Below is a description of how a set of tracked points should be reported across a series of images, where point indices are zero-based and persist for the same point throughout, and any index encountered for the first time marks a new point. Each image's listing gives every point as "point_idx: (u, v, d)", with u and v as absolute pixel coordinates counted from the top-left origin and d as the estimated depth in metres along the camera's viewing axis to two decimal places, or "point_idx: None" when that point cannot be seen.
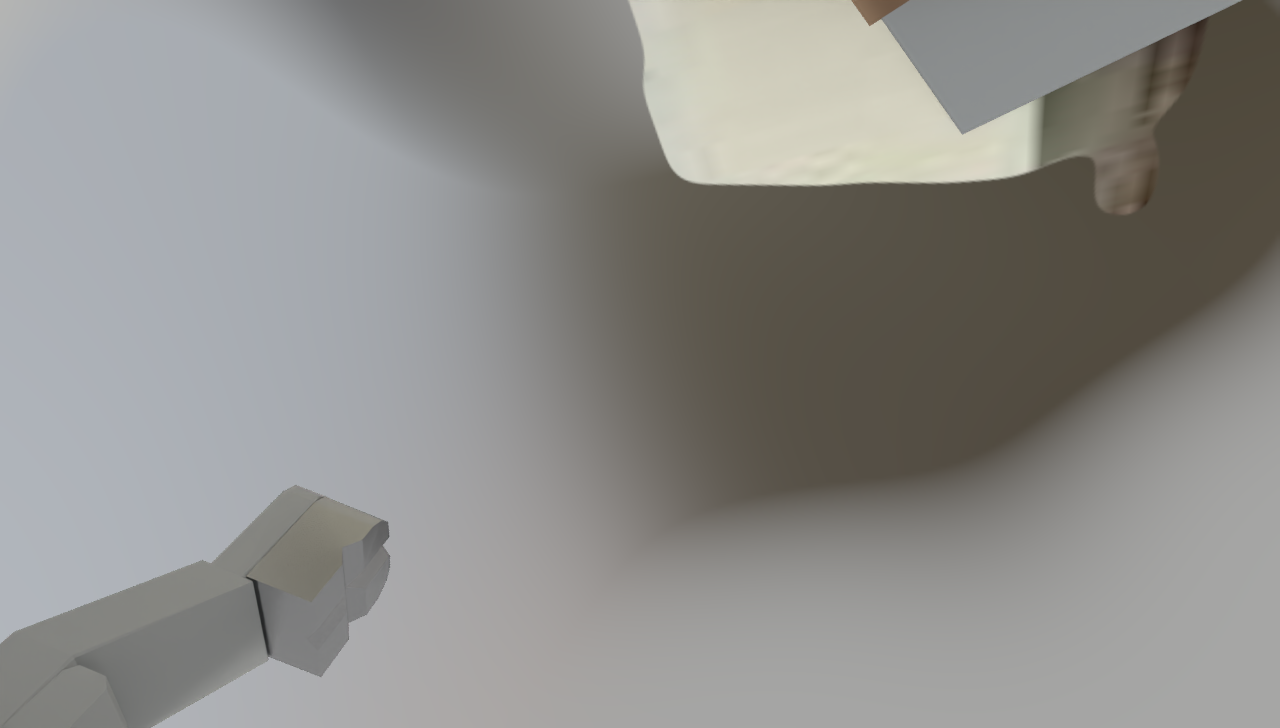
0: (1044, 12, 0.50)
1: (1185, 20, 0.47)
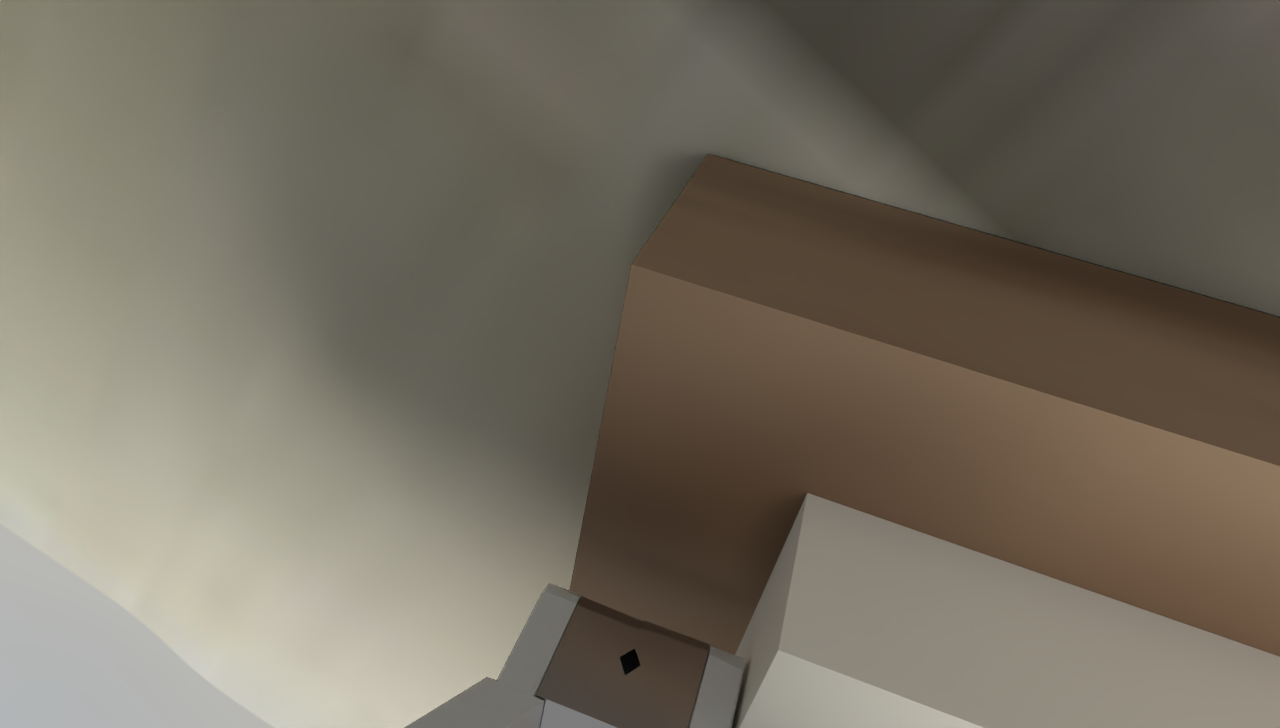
0: None
1: None
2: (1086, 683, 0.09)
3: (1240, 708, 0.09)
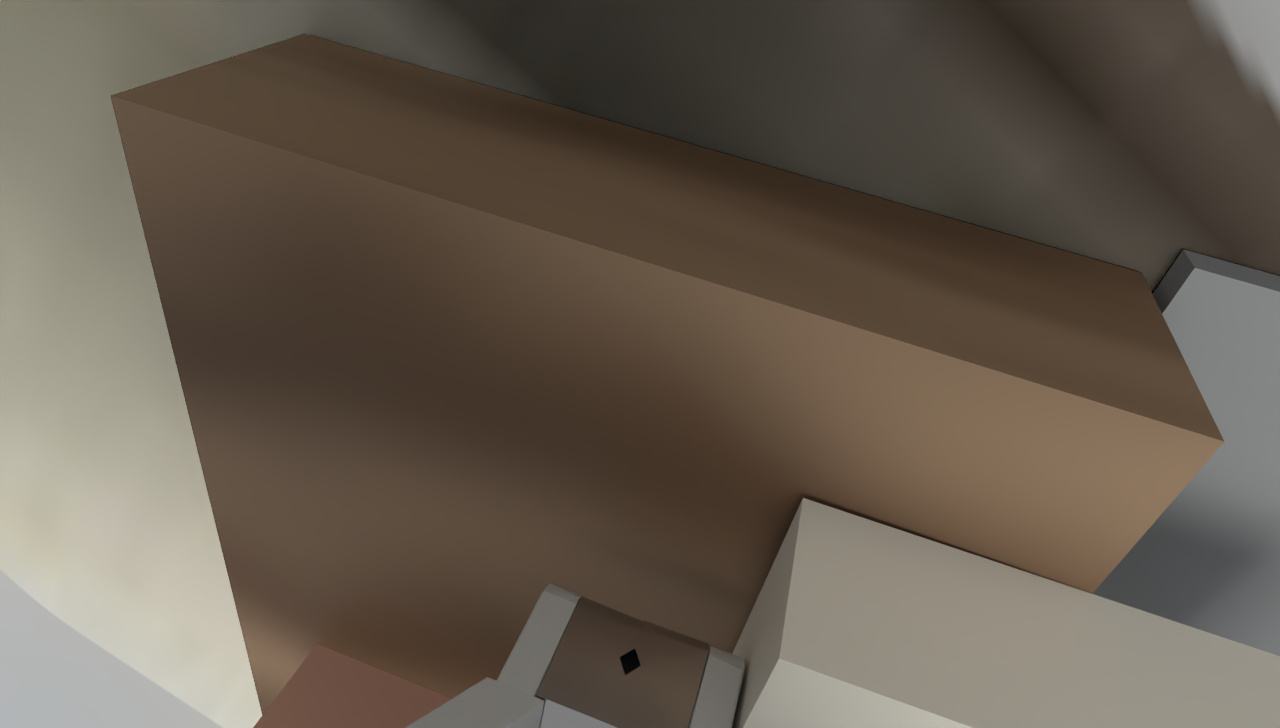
0: None
1: None
2: (1082, 684, 0.09)
3: (1231, 704, 0.09)
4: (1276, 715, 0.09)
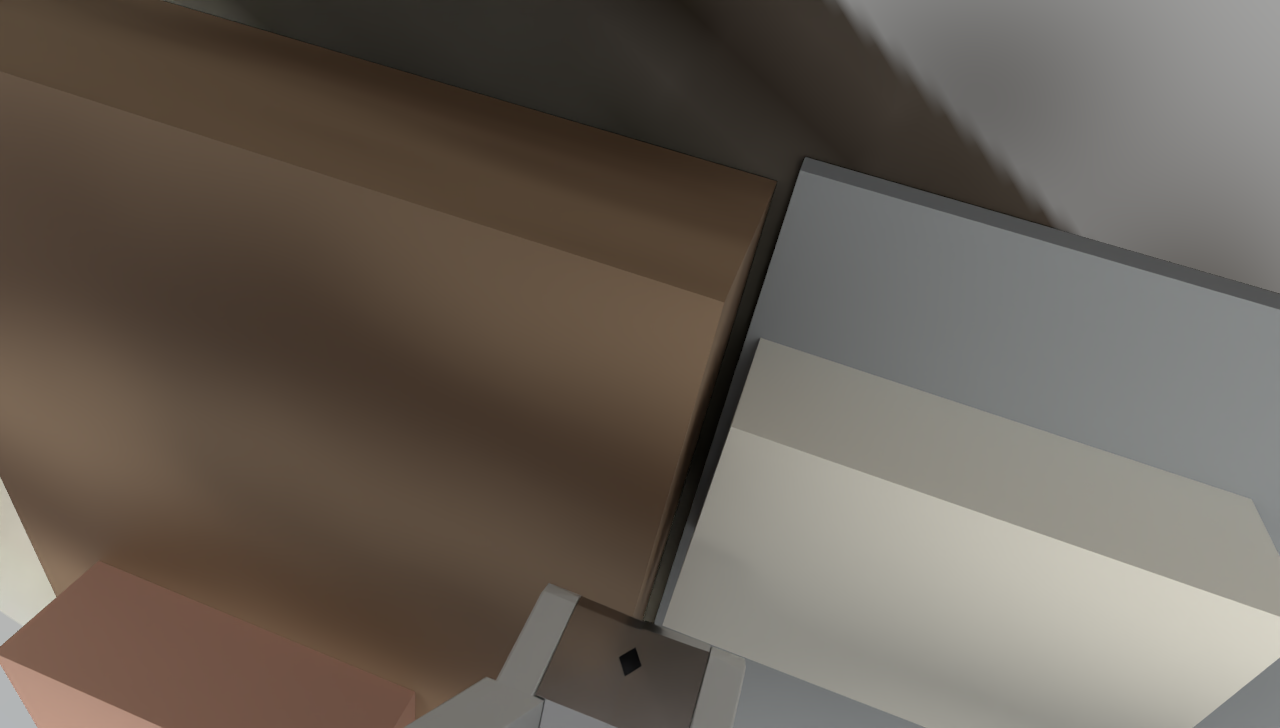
0: None
1: None
2: (962, 459, 0.11)
3: (1077, 480, 0.12)
4: (1112, 489, 0.12)
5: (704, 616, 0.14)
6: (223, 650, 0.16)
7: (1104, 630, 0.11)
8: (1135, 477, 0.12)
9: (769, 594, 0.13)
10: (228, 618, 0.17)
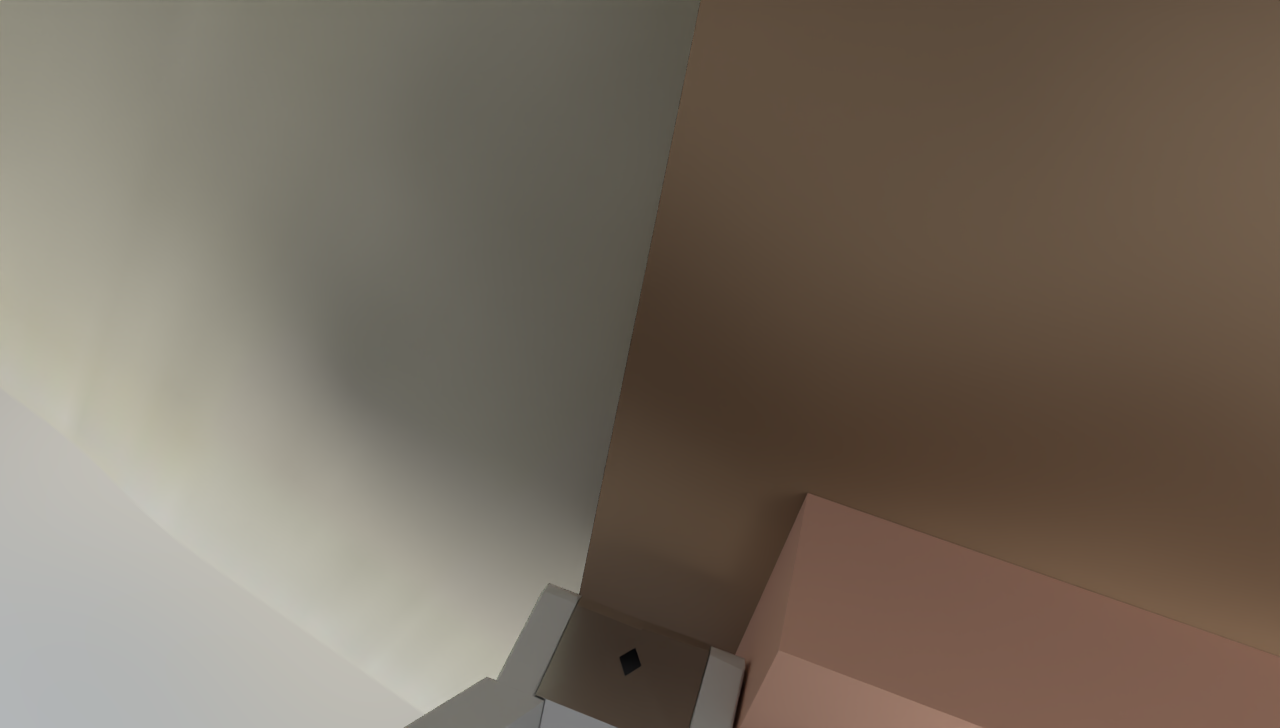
0: None
1: None
2: None
3: None
4: None
5: None
6: (1120, 646, 0.09)
7: None
8: None
9: None
10: (1059, 591, 0.10)
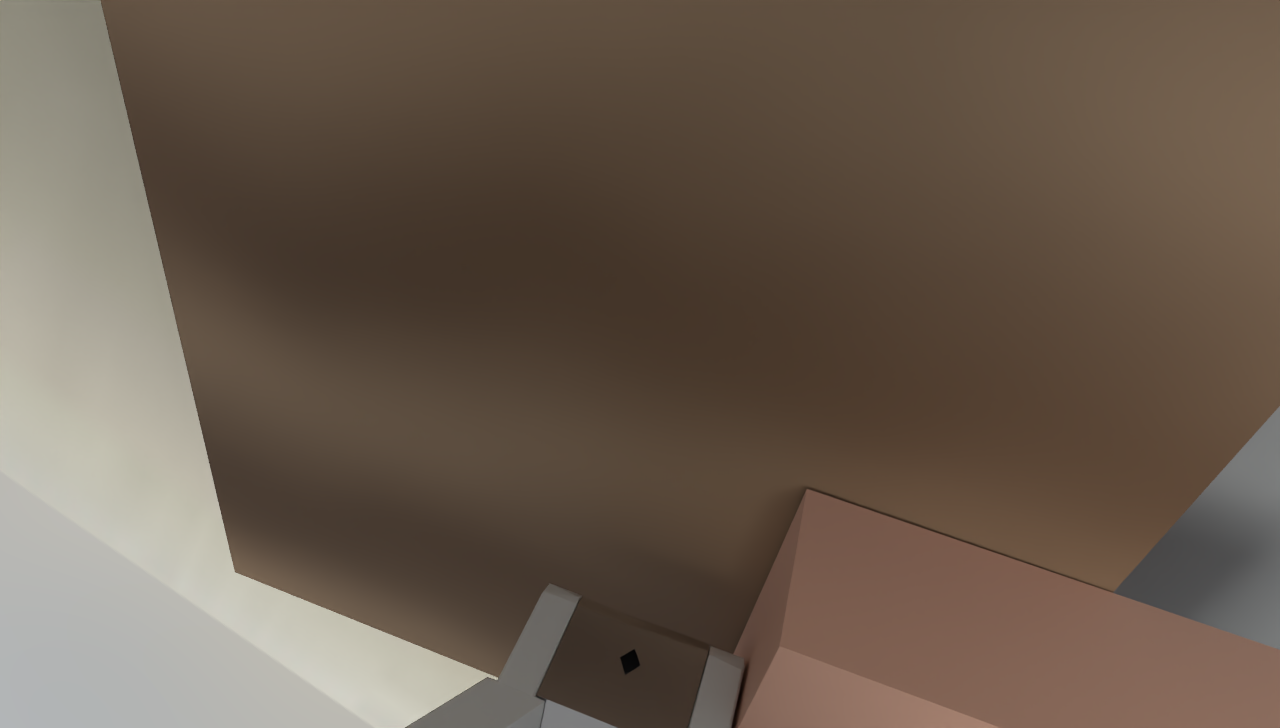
0: None
1: None
2: None
3: None
4: None
5: None
6: (1120, 640, 0.09)
7: None
8: None
9: None
10: (1058, 585, 0.10)
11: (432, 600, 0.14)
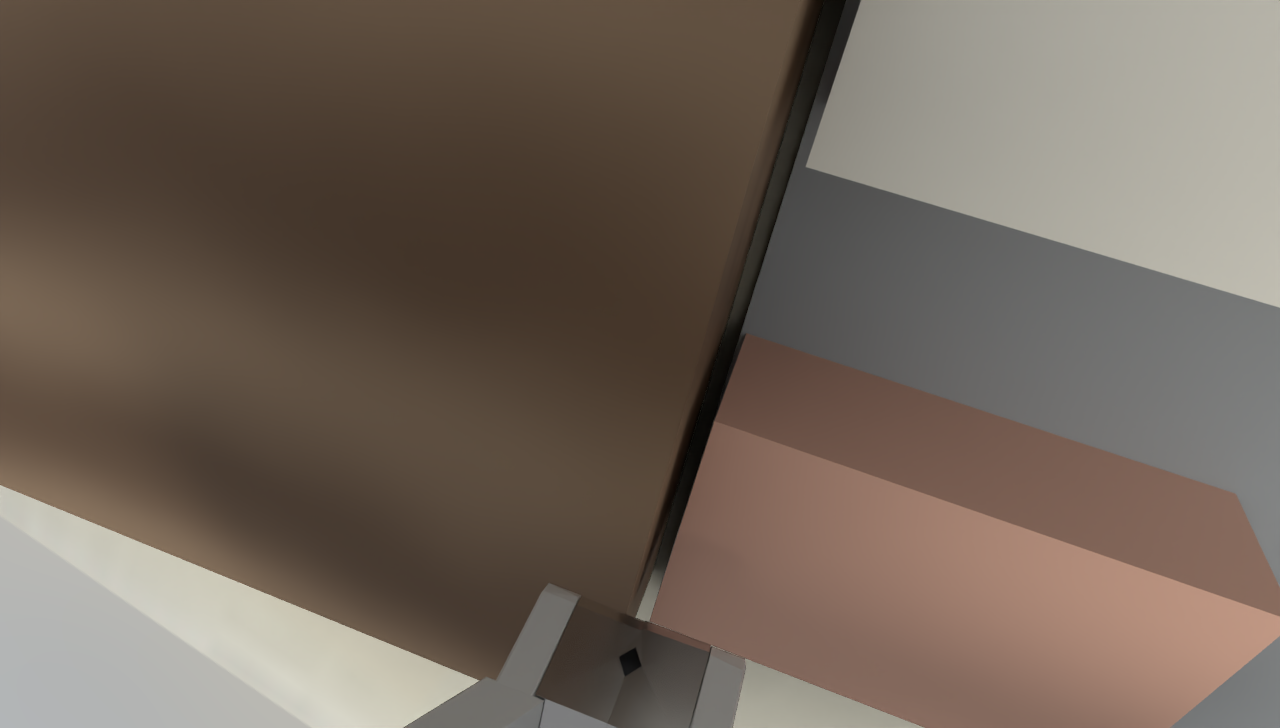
0: (1152, 437, 0.12)
1: None
2: None
3: None
4: None
5: (884, 124, 0.08)
6: (977, 435, 0.12)
7: None
8: None
9: (1016, 33, 0.07)
10: (937, 405, 0.13)
11: (162, 502, 0.15)
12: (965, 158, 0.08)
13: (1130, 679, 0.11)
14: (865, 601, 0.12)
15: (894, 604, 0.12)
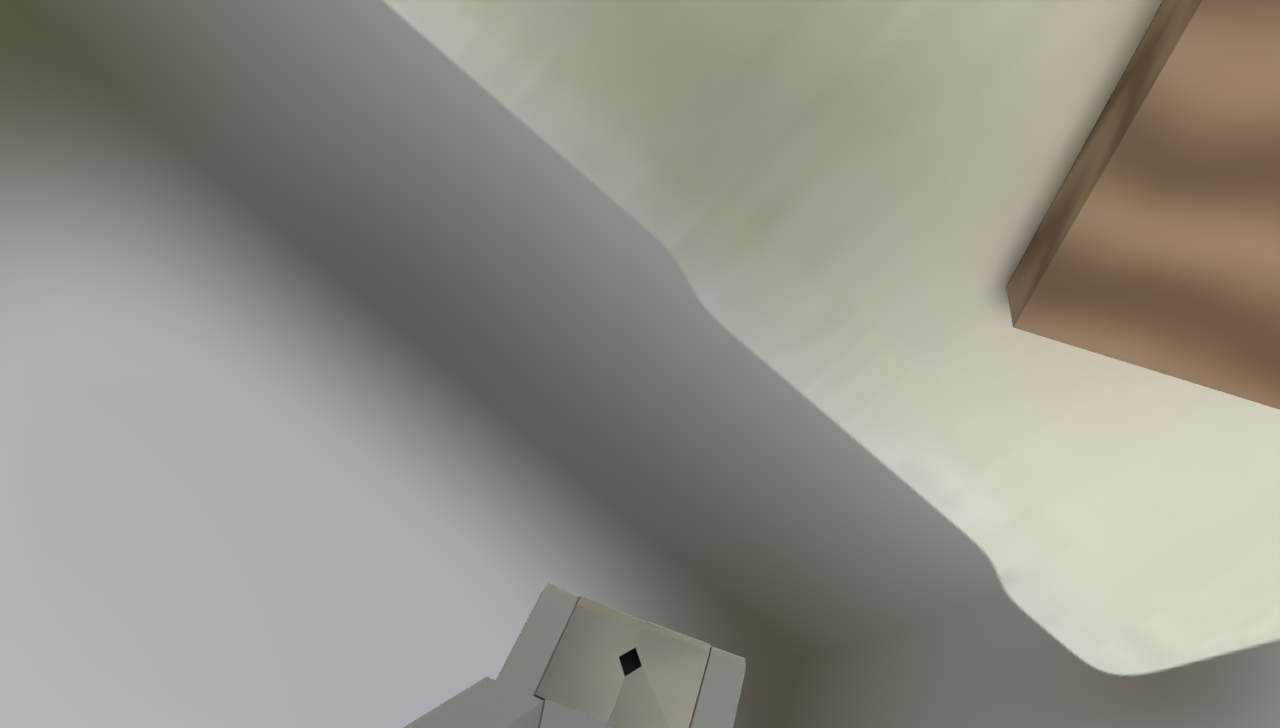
0: None
1: None
2: None
3: None
4: None
5: None
6: None
7: None
8: None
9: None
10: None
11: (1137, 327, 0.34)
12: None
13: None
14: None
15: None
